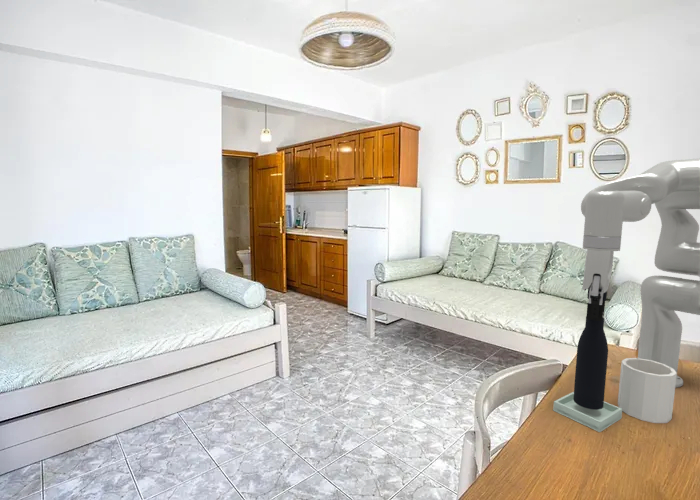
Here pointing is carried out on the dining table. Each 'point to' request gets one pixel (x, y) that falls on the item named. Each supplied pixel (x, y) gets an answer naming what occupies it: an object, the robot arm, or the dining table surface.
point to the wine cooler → (647, 390)
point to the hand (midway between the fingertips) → (595, 317)
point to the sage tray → (588, 413)
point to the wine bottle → (591, 364)
